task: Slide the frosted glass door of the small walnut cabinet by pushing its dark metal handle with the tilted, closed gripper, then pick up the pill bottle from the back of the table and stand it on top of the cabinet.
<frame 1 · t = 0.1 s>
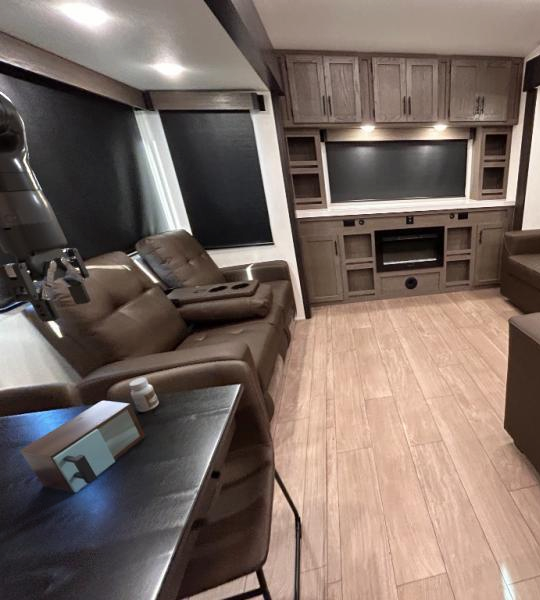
hand: (68, 311, 58), 32 cm above the table, tool pointing down, fingers open, 8 cm apart
pill bottle: (149, 407, 81), on the table
cabinet: (98, 459, 66), on the table
glass door: (94, 461, 60), point 4 cm above the table, slide at 0.0 cm
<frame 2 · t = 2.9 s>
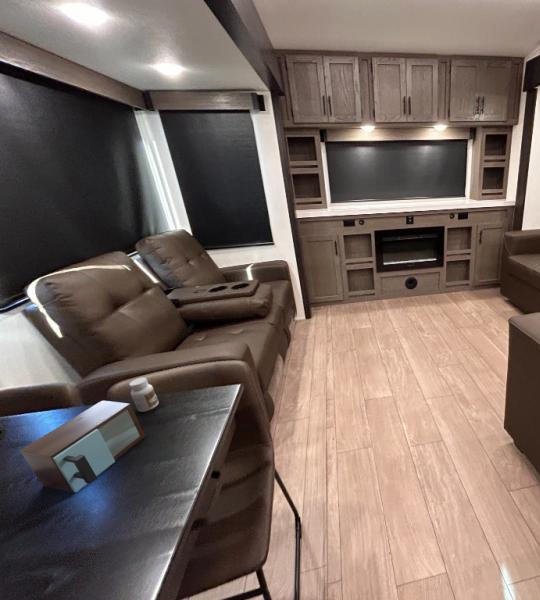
nothing on the table moved.
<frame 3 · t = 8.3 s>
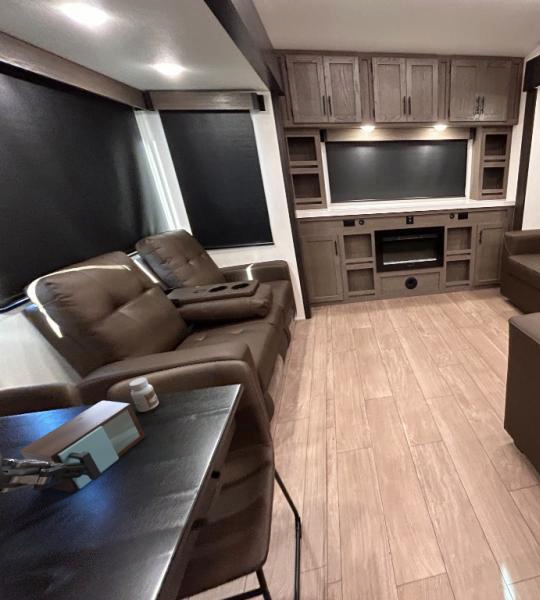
hand: (81, 469, 56), 6 cm above the table, tool tilted 45°, fingers closed
glass door: (98, 458, 60), point 4 cm above the table, slide at 0.7 cm, touching gripper
everything else where it was.
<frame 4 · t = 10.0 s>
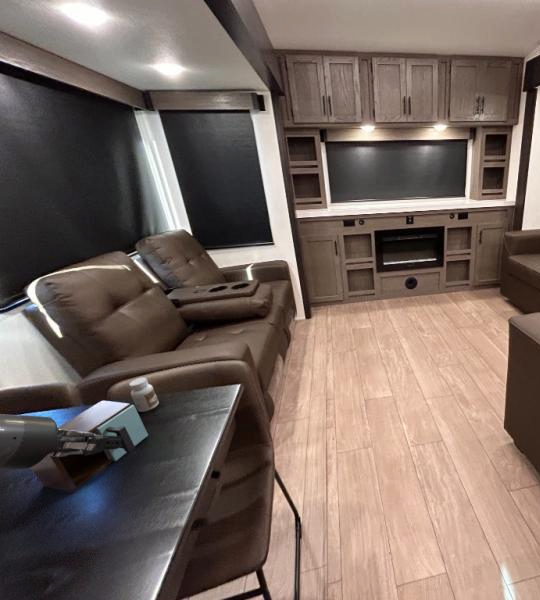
hand: (118, 442, 62), 6 cm above the table, tool tilted 45°, fingers closed
glass door: (131, 433, 66), point 5 cm above the table, slide at 7.1 cm, touching gripper
everything else where it was.
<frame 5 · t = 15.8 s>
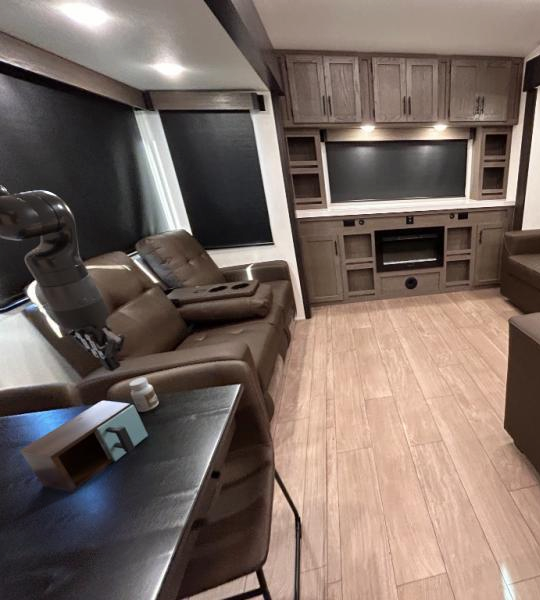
hand: (113, 368, 70), 15 cm above the table, tool pointing down, fingers closed
glass door: (131, 433, 66), point 5 cm above the table, slide at 7.0 cm
everything else where it was.
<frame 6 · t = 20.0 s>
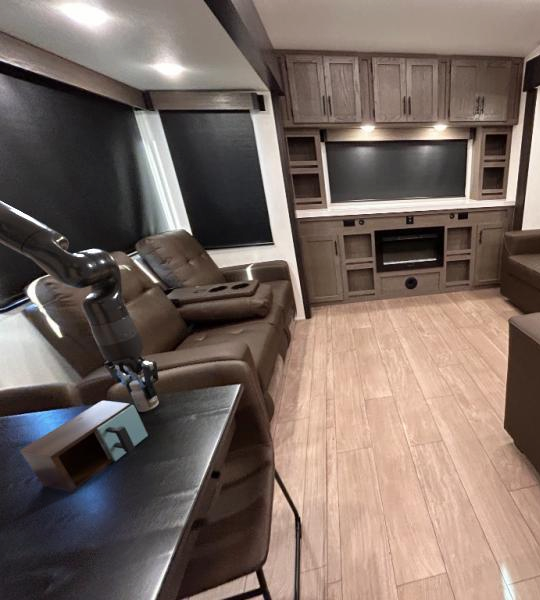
hand: (144, 396, 80), 3 cm above the table, tool pointing down, fingers closed on pill bottle, 4 cm apart
pill bottle: (149, 407, 81), on the table, touching gripper
everything else where it was.
when the fingers open (12 cm above the table, at t = 24.7 s): pill bottle stays where it is, resting on cabinet.
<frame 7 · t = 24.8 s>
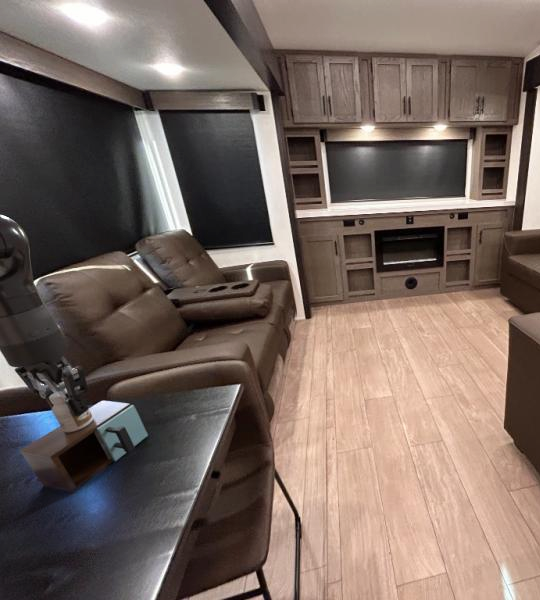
hand: (71, 411, 62), 12 cm above the table, tool pointing down, fingers open, 4 cm apart
pill bottle: (79, 425, 63), point 9 cm above the table, touching cabinet
everything else where it was.
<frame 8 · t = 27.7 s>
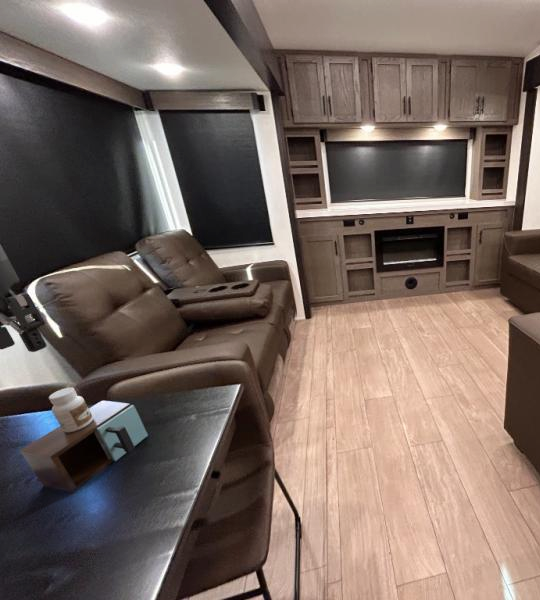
hand: (22, 348, 58), 26 cm above the table, tool pointing down, fingers open, 8 cm apart
nothing on the table moved.
at the end: glass door slide at 7.0 cm; pill bottle inside the target area on the cabinet (0.1 cm from its centre), point 8.8 cm above the cabinet's base; pill bottle tilted 0° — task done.
